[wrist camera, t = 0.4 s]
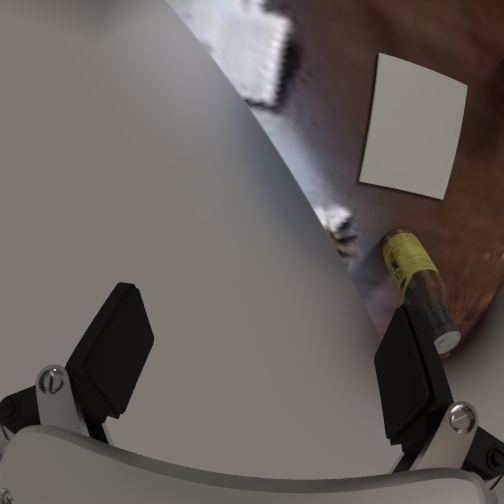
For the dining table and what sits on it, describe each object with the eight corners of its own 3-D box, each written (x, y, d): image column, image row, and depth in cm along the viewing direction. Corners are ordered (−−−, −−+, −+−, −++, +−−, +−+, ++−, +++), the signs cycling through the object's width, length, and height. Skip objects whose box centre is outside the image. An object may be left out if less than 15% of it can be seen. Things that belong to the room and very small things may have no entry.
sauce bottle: (374, 235, 41) (416, 336, 24) (410, 220, 38) (469, 311, 22) (385, 267, 43) (422, 367, 27) (419, 253, 41) (468, 346, 25)
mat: (378, 53, 27) (379, 52, 26) (465, 85, 26) (467, 85, 25) (358, 180, 37) (359, 181, 36) (441, 198, 36) (442, 199, 35)
